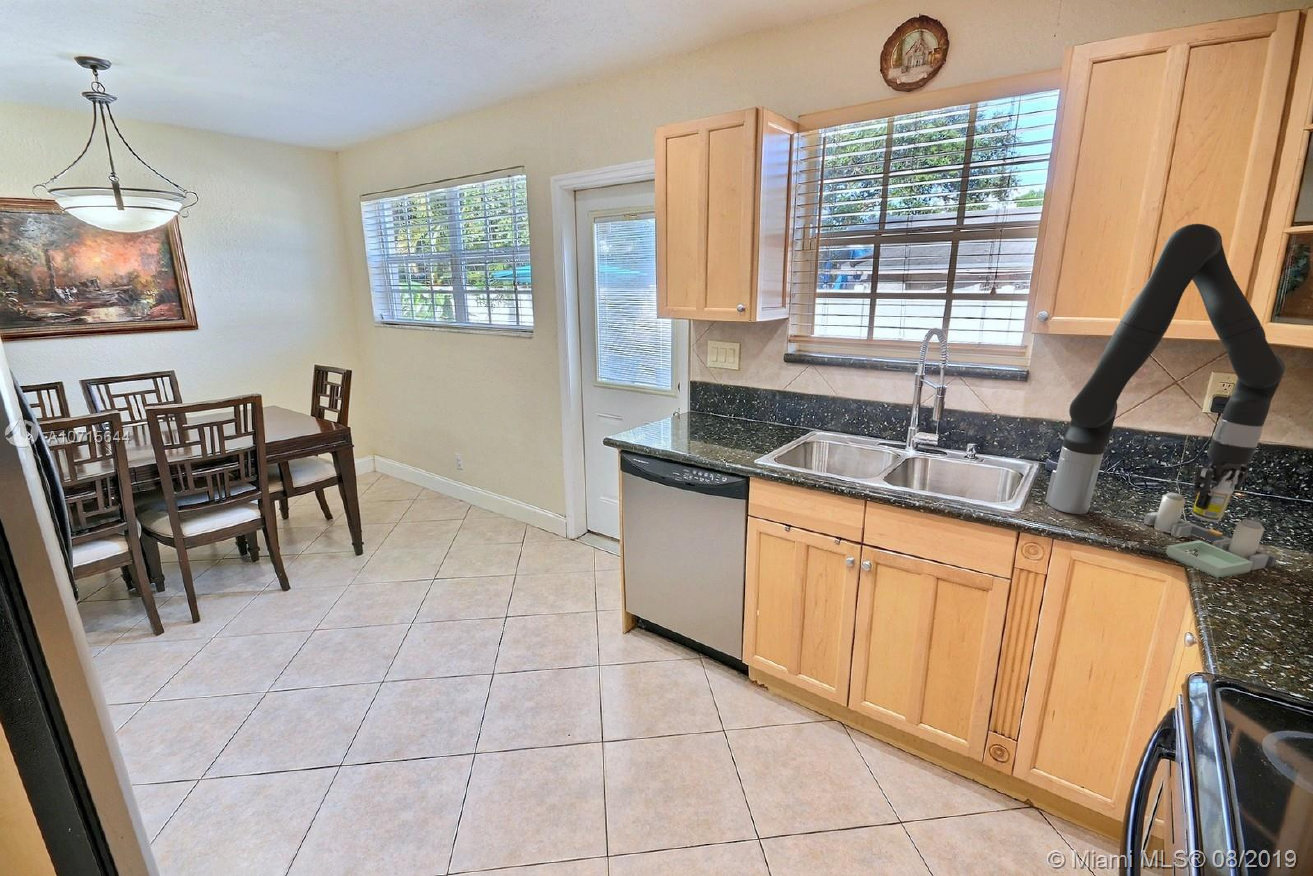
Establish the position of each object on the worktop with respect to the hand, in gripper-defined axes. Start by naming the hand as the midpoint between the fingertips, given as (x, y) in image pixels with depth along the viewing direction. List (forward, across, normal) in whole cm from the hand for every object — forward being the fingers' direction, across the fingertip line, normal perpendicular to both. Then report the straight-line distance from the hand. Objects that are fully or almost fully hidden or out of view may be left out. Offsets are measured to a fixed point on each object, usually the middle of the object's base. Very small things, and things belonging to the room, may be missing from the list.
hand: (1209, 506), depth 140 cm
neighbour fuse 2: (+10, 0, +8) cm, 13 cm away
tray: (+10, +9, +8) cm, 15 cm away
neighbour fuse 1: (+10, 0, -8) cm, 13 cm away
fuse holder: (+10, -2, +1) cm, 10 cm away
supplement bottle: (+3, 0, 0) cm, 3 cm away
